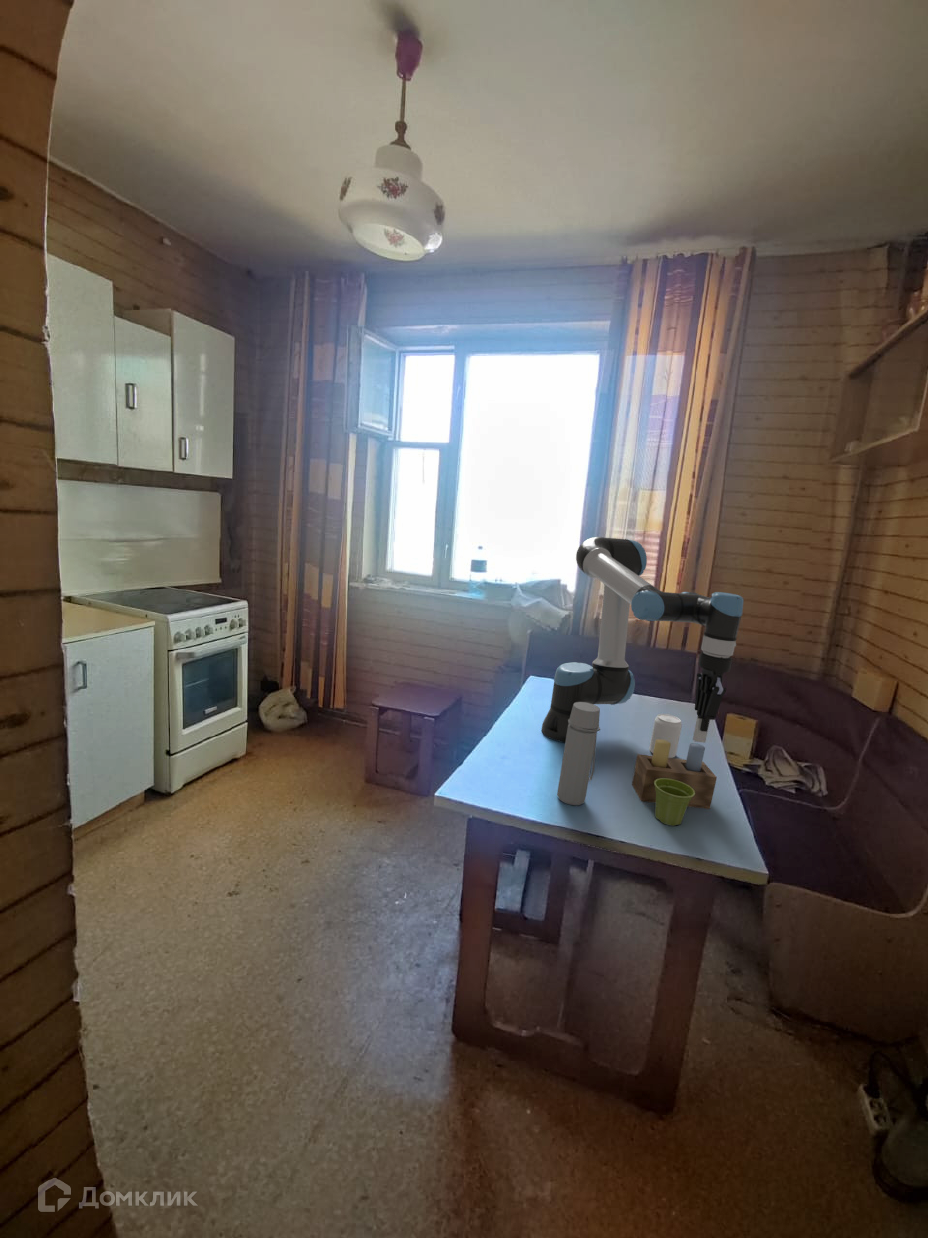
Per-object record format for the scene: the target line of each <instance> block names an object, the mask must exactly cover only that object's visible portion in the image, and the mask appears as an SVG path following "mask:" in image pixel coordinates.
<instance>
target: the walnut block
mask: <svg viewBox="0 0 928 1238" xmlns="http://www.w3.org/2000/svg"><path fill="white" fill-rule="evenodd" d="M652 757H653V755H647V754H637V755H636V760H635V766H634V769H633V770H634V771H633V776H632V781H631V785H632V787H633V790H634V791H635V793H636V794H637V796H638V798H639V800H640V802H642V803H643V802H646V803H652V804H653V803H654V804H656V790H655V785H654V782H655V780H657V779H660V778H668V779H673V780H677V781H680V782H683V783H685V784H687V785H689V786H690V787H691V788H692V789H693V790H694V791H695V795H694V796H693V797H692V798H691V800H690V801H689V803H688V806H687V808H697V809H707V810H710V809H711V806H712V801H713V796H714V793H715V792H714V791H715V788H716V783H717V776H716V775H715V774H714V772H713V771H712V770H711V769H710V767H708V765H707V764H706V763H705V762H704V761H702V765H701V770H700V772H695V771H687V770H686V769H685V765H686V760H687V759H682V758H676V757H673V758H668V761H667V766H666V768H660V767H652V765H651V762H652Z"/></svg>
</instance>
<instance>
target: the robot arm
mask: <svg viewBox="0 0 928 1238" xmlns="http://www.w3.org/2000/svg"><path fill="white" fill-rule="evenodd" d="M646 552H647V551H646V550H645V548H644V547H643V545H642V544H641V543H640V542H638V541H636V540H631V539H628V538H616V537H615V538H614V537H604V536H594V537H590V538H588V539H586V540H584V541H583V542H582V543H581V544H580V545H579V547H578V548H577V550H576V554H575V555H576V557H575V559H576V560H575V561H576V564H577V566H578V568H579V569H580V571H582V572H583V573H584V574H585V575H586V576H588V577H590V578H594V579H598V581H600V582H601V583H602V584H603V585H604V586H603V596H602V607H601V616H600V617H601V619H600V628H599V640H598V652H597V657H596V658H595V659H594V660H593V661H592V665H590V664H588V663H585V662H577V661H574V662H566V663H562V664H560V665H559V666H558V667H557V668H556V670H555V674H554V678H553V688H552V693H551V694H552V695H551V701H550V707H549V710H548V712H547V714H546V716H545V718H544V719H543V721H542V725H541V732H542V734H543V735H544V736H546V737H547V738H550V739H551V740H554V741H557V742H561V743H565V742H566V735H567V729H568V725H569V723H568V720H569V719H570V715H571V711H572V708H573V704H574V703H576V702H586V703H590V704H594V705H611V706H612V705H613V706H616V705H618V704H625V703H627V702H628V701H629V700H630V699H631V698H632V696H633V695H634V691H635V687H636V680H635V677H634V674H633V672H632V671H631V670H630V669H629V667H630V665H629V664H628V663H627V661H626V649H627V637H628V636H627V635H628V629H629V628H628V627H629V619H630V618H629V617H630V610H631V612H633V616H634V617H635V618H637V620H643V621H647V622H673V623H674V622H675V623H677V622H678V623H691V624H692V623H693V624H697V625H700V626H703V627H705V628H704V634H703V637H702V643H701V647H700V648H701V649H700V650H701V652H700V653H699V659H698V664H697V665H698V666H699V667H700V668H702V671H701V672H697V673H696V687H695V688H696V691H695V699H694V700H695V701H694V711H696V715H697V717H696V722H695V725H694V726H695V727H694V731H693V737H692V740H693V741H694V743H695V742H696V743H706V741H707V735H708V731H709V726H710V721H715V720H716V717H717V715H718V712H719V709H720V706H721V703H722V701H723V700H722V699H723V697H724V695H725V694H726V692H727V687H724V686H723V685H722V684H723V681H724V679H723V676H724V673H725V674H726V673H729V672H730V671H731V667H732V662H733V658H732V657H731V656H734V651H735V648H736V646H737V643H736V641H737V638H738V633H739V632H738V631H739V627H740V623H741V619H742V616H743V610H744V598H743V596H741V595H739V594H735V593H730V592H723V591H722V592H721V591H715V592H713V593H711V597H710V596H709V597H708V596H707V595H702V594H699V593H697V592H690V591H682V592H667V591H662V590H660V589H659V588H657V587H655V586H654V585H653V584H652V583H650V582H649V581H647V580H645V579H644V578H643V577H642V576H641V575H643V574H644V571H645V570H646V569H647V564H648V563H647V562H648V559H647V558H648V557H647V553H646ZM630 607H631V608H630Z"/></svg>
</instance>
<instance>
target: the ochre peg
mask: <svg viewBox="0 0 928 1238" xmlns="http://www.w3.org/2000/svg"><path fill="white" fill-rule="evenodd" d="M670 746H671V743H670V742H668V741H666V740H662V739H657V740H656V741H655V747H654V752H653V753H652V756H653V757H652V762H651V765H652V767H660V768H666V766H667V761H668V756H669V751H670Z"/></svg>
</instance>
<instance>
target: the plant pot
mask: <svg viewBox="0 0 928 1238" xmlns="http://www.w3.org/2000/svg"><path fill="white" fill-rule="evenodd" d="M654 785H655V790H656V803H655V812H654V813H655V819H656V820H659V821H660V822H661V823H662V824H665V825H668V826H674V827H675V826H676V825H678V826H679V825H681V824H682V821H683V819H684V817H685V813H686V810H687V808H688V807H687V806H688V803H689V801H690V800H691V798H692V797H693V796H694V795H695V791H694V790H693V789H692V788H691V787H690V786H689V785H687V784H685V783H683V782H680V781H677V780H673V779H668V778H660V779H657V780H655V782H654Z"/></svg>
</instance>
